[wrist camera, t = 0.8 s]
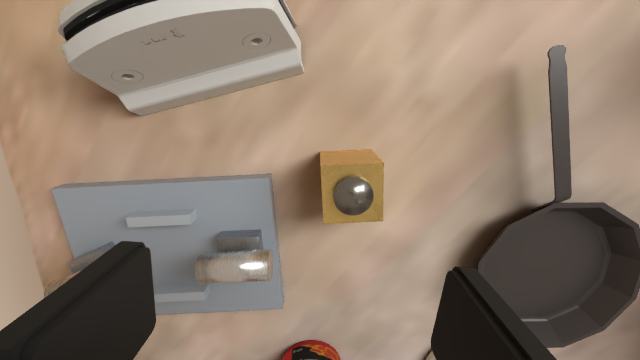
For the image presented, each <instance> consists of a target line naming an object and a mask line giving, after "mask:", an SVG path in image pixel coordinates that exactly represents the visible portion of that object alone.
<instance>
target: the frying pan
mask: <svg viewBox="0 0 640 360" xmlns="http://www.w3.org/2000/svg"><path fill="white" fill-rule="evenodd" d="M565 53H566V48H565V47H564V45H557V46H554V47H552V48H551V49H549V51H548V58H549V70H548V76H549V94H550V113H551V132H552V150H553V169H554V187H555V199H554V200H553V201H552V202H550V203H547V204H545V205H542V206H540V207H537V208H535V209H533V210H531V211H535V212H533V213H531V214H529V215H527V216H525V217H523V218H521V219H519V220H517V221H515V222H513V223H510V224H508V225H506V226H504V228H503V229H502V230H501V231H500V233H499V234H498V235H497V236H496V237H495V239H494V240H493V241H492V242H491V244H490V245H489V246H488V247H487V249H486V250H485V251H484V252H483V254H482V256H481V258H480V261H479V265H478V272H479V273H480V274H481V275H482V276H483V277H484V279H485V280H486V281H487V282H488V283H489V284H490V285H491V286H492V288H493V289H494V290H495V291H496V292H497V293H498V294H499V295H500V297H501V298H502V299H503V300H504V301H505V302H506V303H507V304H508V306H509V307H510V308H511V309H512V310H513V311H514V312H515V313H516V315H517V316H518V317H519V318H520V319H521V320H522V321H523V322H524V324H525V325H526V326H527V327H528V328H529V329H530V330H531V331H532V333H533V334H534V335H535V336H536V337H537V338H538V339H539V340H540V342H541V343H542V344H543V345H544V346H545V347H546V348H554V347H565V346H567V345H570V344H572V343H575V342H577V341H579V340H582V339H584V338H586V337H589V336H591V335H594V334H596V333H598V332H601V331H603V330H605V329H606V328H607V327H608V326H609V325H610V324H611V323H612V322H613V321H614V320H615V319H616V318H617V317H618V316H619V315H620V314H621V313H622V312H623V311H624V310H625V309H626V308H627V307H628V306H629V305H630V304H631V303H632V302H633V301H634V300H635V299H636V297H637V295H638V292H639V289H640V228H639V225H638V224H637V223H635V222H634V221H632V220H631V219H629V218H627V217H626V216H624V215H623V214H621V213H619V212H618V211H616V210H615V209H613V208H611V207H610V206H608V205H607V204H605V203H560V202H562V201H565V200H567V199H569V198H570V197H571V194H572V193H571V165H570V138H569V111H568V84H567V65H566V61H565ZM536 210H537V211H536Z"/></svg>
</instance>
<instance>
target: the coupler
mask: <svg viewBox="0 0 640 360" xmlns="http://www.w3.org/2000/svg"><path fill="white" fill-rule="evenodd" d="M320 168H321V187H322V207H323V224H334V223H354V222H375V221H383V183H384V163H383V162H382V161H381V159H380V158H379V157H378V156H377V155H376V154H375V153H374V152H373V151H372V150H371V149H362V150H342V151H322V152H320Z"/></svg>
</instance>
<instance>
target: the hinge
mask: <svg viewBox="0 0 640 360" xmlns="http://www.w3.org/2000/svg"><path fill="white" fill-rule="evenodd" d="M295 26H297V25H296V23H295V21H294V19H293V17H292V15H291V13H290V11H289V9H288V7H287V5H286V3H285V1H284V0H74V1H72V2H71V3H70V4H69V5H68V6H66V7H65V8H64V9H63V10H62V11H61V12H60V18H59V26H58V32H59V33H60V34H61V35H62V36H63V37H64V38H65V39H66V40H67V41H66V43H64V44H63V45H62V52H63V54H64V56H65V58H66V61H67V63H68V65H69V67H70V68H71V69H72V70H73V71H75V72H77V73H79V74H80V75H82V76H84V77H86V78H87V79H89V80H91V81H93V82H94V83H96V84H98V85H100V86H101V87H103V88H105V89H107V90H108V91H110V92H112V93H114V94H115V95H117V96H118V97H119V99H120V100H121V101H122V103H123V104H124V105H125V107H126V108H127V109H128V110H129V111H130V112H133V113H135V114H138V115H140V116H144V115H147V114H151V113H155V112H159V111H163V110H166V109H170V108H174V107H178V106H182V105H185V104H189V103H193V102H197V101H200V100H204V99H208V98H212V97H216V96H219V95H223V94H227V93H231V92H235V91H238V90H242V89H246V88H250V87H253V86H257V85H261V84H265V83H269V82H272V81H276V80H280V79H284V78H288V77H291V76H295V75H299V74H303V73H304V67H303V64H302V61H301V41H300V39H299V37H298V35H297V33H296V32H295V30H294V27H295Z"/></svg>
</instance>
